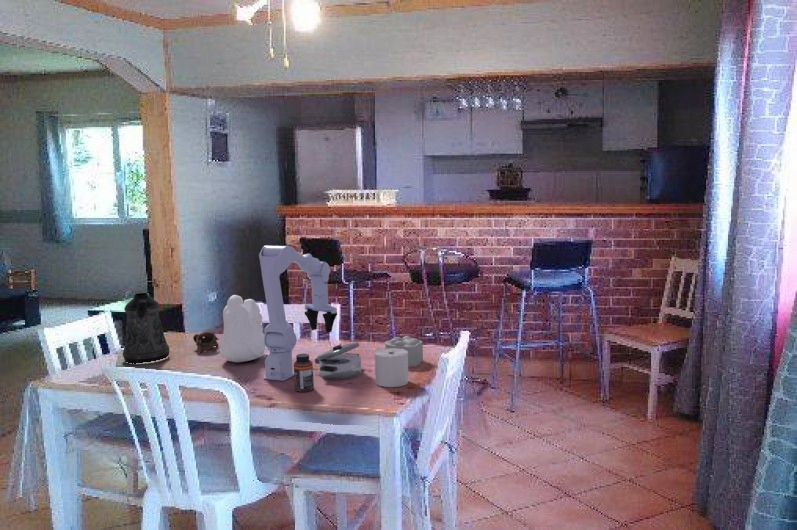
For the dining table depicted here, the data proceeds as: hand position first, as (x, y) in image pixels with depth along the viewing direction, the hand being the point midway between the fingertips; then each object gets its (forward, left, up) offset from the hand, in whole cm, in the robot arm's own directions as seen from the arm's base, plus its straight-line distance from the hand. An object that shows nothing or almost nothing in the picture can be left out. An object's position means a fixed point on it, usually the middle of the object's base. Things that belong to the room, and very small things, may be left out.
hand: (321, 330), depth 261 cm
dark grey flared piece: (-21, +62, -10) cm, 67 cm away
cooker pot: (-16, -16, -10) cm, 25 cm away
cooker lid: (-16, -15, -3) cm, 23 cm away
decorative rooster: (-8, +26, -10) cm, 29 cm away
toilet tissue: (-20, -36, -10) cm, 43 cm away
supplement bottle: (-35, -13, -10) cm, 39 cm away
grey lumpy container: (+3, -31, -10) cm, 33 cm away
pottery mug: (-3, +50, -10) cm, 51 cm away
